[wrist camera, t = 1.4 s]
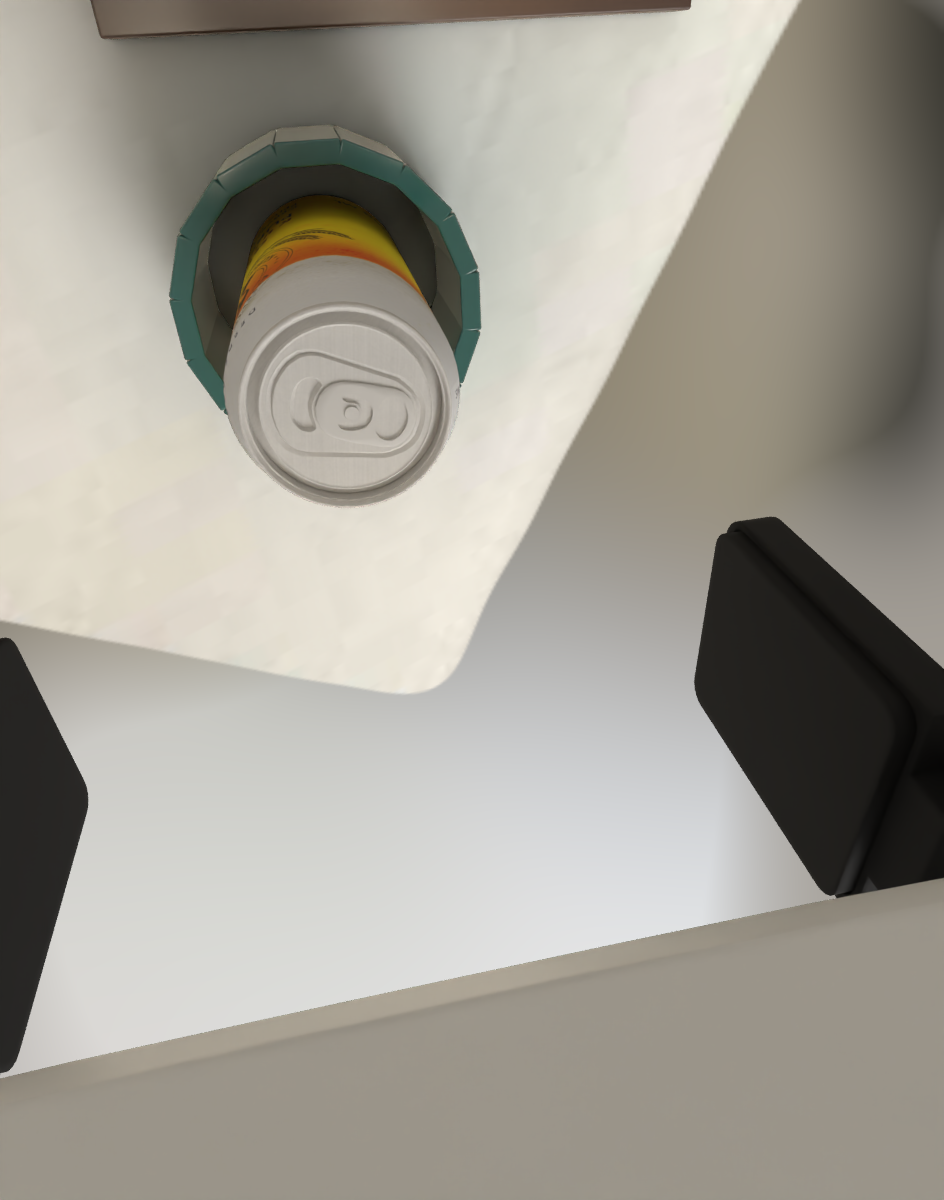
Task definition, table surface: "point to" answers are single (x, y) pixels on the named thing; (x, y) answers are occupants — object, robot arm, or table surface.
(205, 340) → the crock
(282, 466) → the beer can
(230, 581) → the table surface
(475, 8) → the board
